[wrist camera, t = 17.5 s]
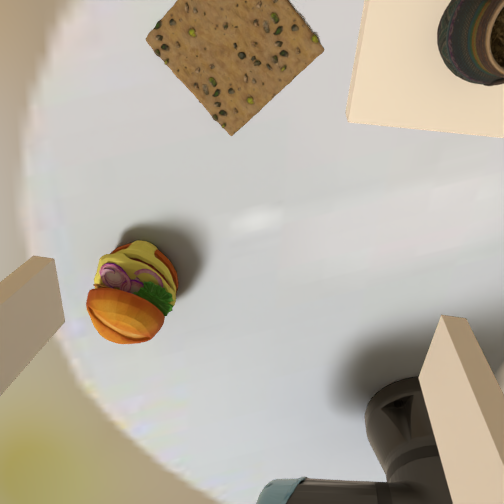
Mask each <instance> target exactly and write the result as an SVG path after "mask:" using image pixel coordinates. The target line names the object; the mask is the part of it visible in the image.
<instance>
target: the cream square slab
mask: <svg viewBox="0 0 504 504" xmlns="http://www.w3.org/2000/svg"><path fill="white" fill-rule="evenodd" d="M450 1H451V0H365V1H364V7H363V13H362V19H361V25H360V30H359V36H358V42H357V48H356V54H355V60H354V65H353V71H352V77H351V83H350V89H349V95H348V100H347V106H346V112H345V113H346V117H347V120H348V122H351V123H361V124H371V125H381V126H390V127H400V128H410V129H420V130H430V131H440V132H450V133H460V134H470V135H480V136H490V137H499V138H504V84H500V85H493V86H484V85H483V84H482V85H481V84H474V83H470V82H467V81H465V80H462V79H461V78H459V77H457V76H455V75H454V74H453V73H452V72H451V71H450V70H449V69H447V66H446V65H445V64H444V61H443V59H442V58H441V55H440V52H439V50H438V45H437V29H438V26H439V22H440V19H441V17H442V15H443V13H444V11H445V9H446V7H447V6H448V5H449V3H450Z"/></svg>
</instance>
